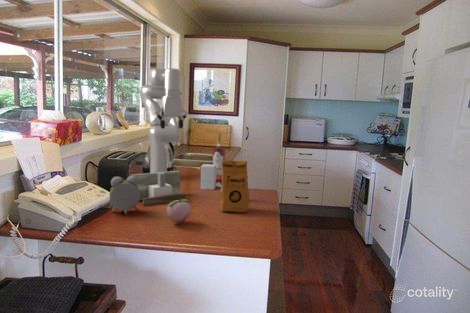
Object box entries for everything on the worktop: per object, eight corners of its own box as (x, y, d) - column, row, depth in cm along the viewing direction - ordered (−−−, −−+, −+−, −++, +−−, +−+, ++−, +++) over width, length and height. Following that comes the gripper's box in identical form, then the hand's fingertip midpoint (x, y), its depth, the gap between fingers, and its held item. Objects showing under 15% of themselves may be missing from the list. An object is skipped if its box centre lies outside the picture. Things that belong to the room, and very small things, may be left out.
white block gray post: (148, 199, 162) (148, 172, 160) (166, 197, 167) (166, 170, 165) (153, 202, 157) (153, 174, 155) (171, 200, 162) (171, 173, 160)
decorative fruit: (180, 218, 137) (180, 193, 136) (194, 223, 132) (195, 197, 131) (161, 223, 130) (161, 197, 129) (175, 229, 125) (176, 202, 123)
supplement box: (216, 186, 191) (216, 164, 190) (213, 190, 184) (214, 166, 182) (202, 186, 192) (203, 163, 190) (200, 189, 185) (200, 165, 183)
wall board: (131, 200, 159) (130, 174, 157) (178, 194, 173) (178, 170, 171) (139, 206, 150) (139, 179, 149) (188, 199, 164) (189, 174, 162)
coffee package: (248, 214, 145) (251, 162, 142) (219, 213, 145) (220, 161, 141) (248, 207, 155) (250, 159, 151) (220, 206, 155) (221, 158, 151)
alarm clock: (139, 209, 147) (138, 174, 144) (140, 214, 140) (140, 177, 138) (109, 211, 142) (109, 175, 140) (110, 216, 136) (109, 179, 134)
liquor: (225, 180, 208) (227, 134, 204) (222, 183, 201) (223, 134, 197) (214, 179, 210) (215, 133, 206) (210, 181, 203) (211, 134, 199)
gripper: (184, 94, 181) (183, 127, 183) (152, 93, 171) (152, 127, 173) (191, 94, 175) (190, 128, 177) (158, 93, 165) (158, 129, 167)
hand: (171, 128), depth 175 cm, fingers open, 9 cm apart
